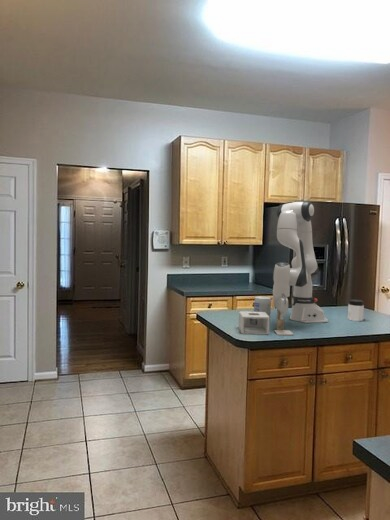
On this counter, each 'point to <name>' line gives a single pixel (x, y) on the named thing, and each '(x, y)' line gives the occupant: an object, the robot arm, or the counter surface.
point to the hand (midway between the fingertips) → (280, 318)
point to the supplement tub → (262, 305)
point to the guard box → (247, 328)
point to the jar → (355, 310)
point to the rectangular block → (279, 321)
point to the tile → (283, 332)
